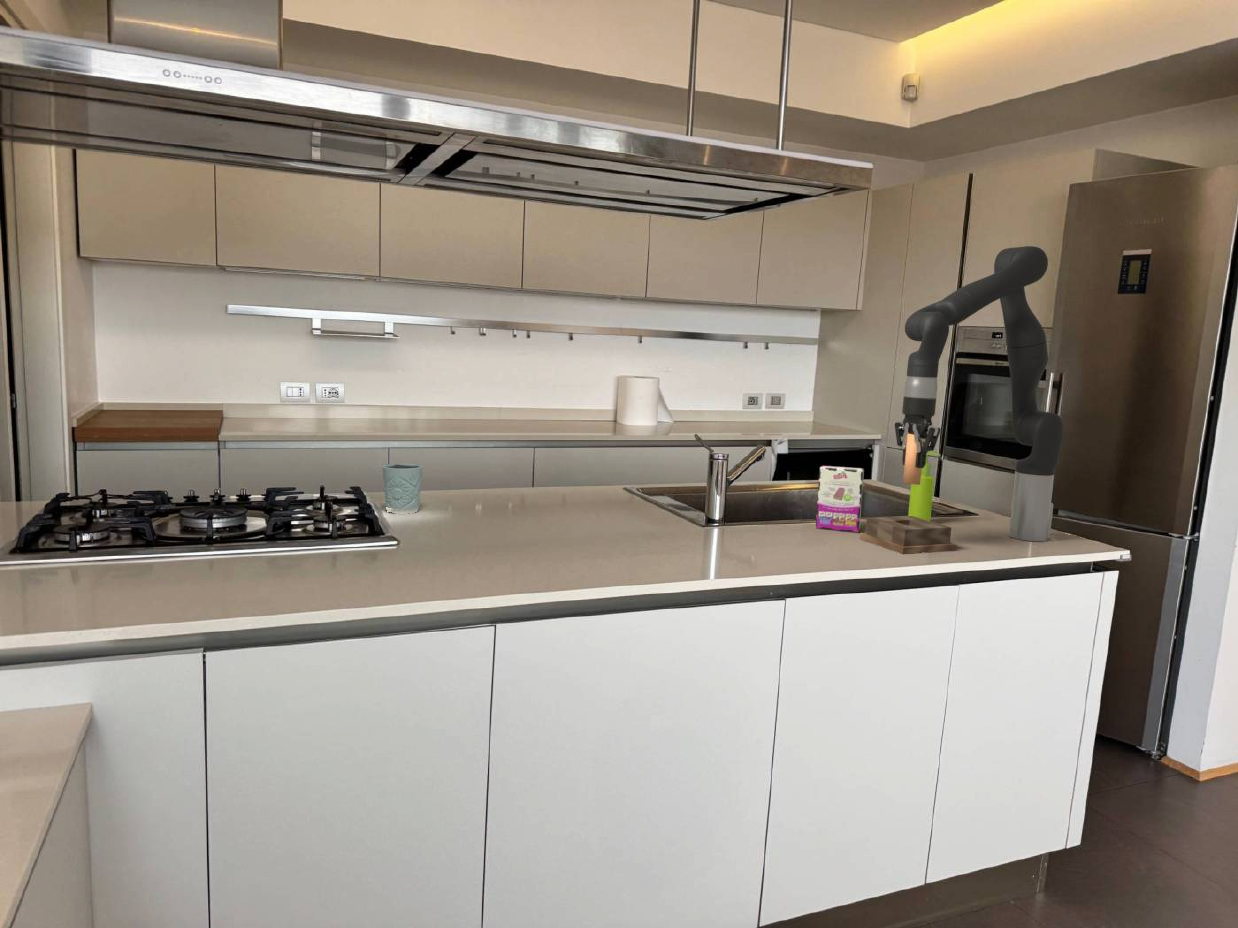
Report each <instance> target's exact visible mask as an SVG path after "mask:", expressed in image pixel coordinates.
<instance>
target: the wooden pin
mask: <svg viewBox="0 0 1238 928" xmlns="http://www.w3.org/2000/svg"><path fill="white" fill-rule="evenodd" d="M924 438H925V437H924ZM924 438H920V439H924ZM922 447H923V443H922ZM916 454H917V444H916V443H915V439H914V435H913V434H908V435H907V445H906V456H905V465H904V466H903V467H904V468H903V469H904V470H903V477H902V478H903V479H902V483H903V484H905V485H910V486H911V485H920V481H921V471H922V468H916V467H915V464H916Z"/></svg>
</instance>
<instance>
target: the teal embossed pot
mask: <svg viewBox="0 0 1238 928" xmlns="http://www.w3.org/2000/svg"><path fill="white" fill-rule="evenodd" d="M422 473H423V466H422V465H421V464H414V463H389V464H384V465H382V477H383V486H384V507H385V506H386V507H388V508H393V509H402V510H403V509H404V510H407V509H414V508H417V507H419V508H420V506H421V505H420V502H421V501H420V500H421V499H420V497H421V496H420V494H421V483H422V476H423V474H422Z"/></svg>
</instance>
